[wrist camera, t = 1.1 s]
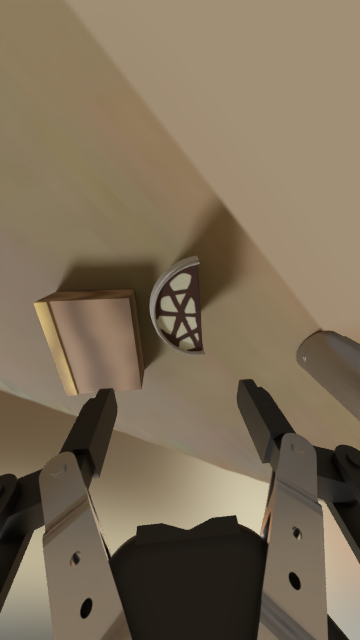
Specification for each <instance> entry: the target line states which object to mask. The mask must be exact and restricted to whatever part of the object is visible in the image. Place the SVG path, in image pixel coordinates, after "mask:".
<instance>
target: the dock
mask: <svg viewBox="0 0 360 640" xmlns="http://www.w3.org/2000/svg"><path fill="white" fill-rule="evenodd" d="M34 306H35V309H36V311H37V314H38V317H39V320H40V322H41V325H42V328H43V331H44V333H45V336H46V339H47V342H48V344H49V347H50V350H51V353H52V355H53V358H54V361H55V364H56V366H57V369H58V372H59V374H60V377H61V380H62V383H63V385H64V388H65V391H66V394H67V396H72V395H78V394H81V393H95V392H98V391H99V389H105V388H113V389H114V391H123V390H137V389H142V383H143V376H144V362H143V353H142V345H141V337H140V329H139V321H138V313H137V305H136V297H135V289H119V290H93V291H66V292H55V293H53V294H51V295H48V296H46V297H44V298H42V299H40V300H38V301H36V302H34Z"/></svg>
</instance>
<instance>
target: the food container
mask: <svg viewBox="0 0 360 640" xmlns="http://www.w3.org/2000/svg"><path fill="white" fill-rule="evenodd" d="M197 264H200V262H199V259H198V257H197V256H192V257H188V258H185V259H183V260H180V261H178V262H176V263H175V264H173V265H172V266H170V267H169V268H168V269H167V270H165V271H164V273H163V274H162V275H161V276H160V277H159V279H158V280H157V282H156V283H155V285H154V288H153V290H152V293H151V297H150V306H149V307H150V315H151V319H152V322H153V325H154V327H155V329H156V331H157V333H158V334H159V336H160V337H161V338H162V339H163V341H164V342H165V343H167V344H168V345H169V346H171V347H172V348H173V349H175V350H177V351H179V352H182V353H184V354H189V355H197V356H201V355H205V353H204V350H203V344H202V332H201V311H200V297H199V281H198V266H197Z"/></svg>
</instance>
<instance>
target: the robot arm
mask: <svg viewBox="0 0 360 640" xmlns="http://www.w3.org/2000/svg"><path fill="white" fill-rule="evenodd" d="M297 361H298V363H299V365H300V366H301V367H302V368H303V369H304V370H305V371H307V372H308V373H309V374H310V375H311V376H312V377H313V378H314V379H315V380H316V381H317V382H318V383H319V384H320V385H321V386H323V387H324V388H325V389H326V390H327V391H328V392H329V393H330V394H331V395H332V396H333V397H334V398H335V399H336V400H338V401H339V402H340V403H341V404H342V405H343V406H344V407H345V408H346V409H347V410H348V411H349V412H350V413H351V414H353V415H354V416H355V417H356V418H357V419H358V420H359V421H360V344H359V343H357V342H355V341H353V340H351V339H349V338H347V337H345V336H342V335H340V334H338V333H336V332H334V331H322V332H318V333H316V334H314V335H312V336H310V337H309V338H308V339H306V340H305V341H304V342H303V344H302V345H301V346H300V348H299V350H298V353H297ZM237 404H238V408H239V410H240V412H241V415H242V417H243V419H244V422H245V424H246V426H247V429H248V431H249V433H250V436H251V438H252V440H253V442H254V445H255V447H256V449H257V452H258V454H259V456H260V459H261V461H262V463H270V465H271V467H272V473H271V479H270V486H269V491H268V497H267V503H266V509H265V514H264V518H263V522H262V527H261V532H260V536H259V535H258V534H257V533H255V532H254V531H252V530H251V529H249V528H247V527H245V526H243V525H240V524H238V521H237V517H236V515H234V516H225V517H216V518H211V519H209V520H207V521H205V522H203V523H202V524H199V525H198V526H196V527H194V528H192V529H190V530H185V529H181V528H177V527H174V526H170V525H166V524H163V523H160V524H151V525H142V526H137V533H136V535H135V536H133V537H132V538H130V539H129V540H127V541H126V542H125V543H124V544H123V545H121V546H120V548H118V549H117V551H116V552H115V553H114V554H113V555H111V552H110V549H109V546H108V543H107V540H106V538H105V535H104V533H103V530H102V527H101V524H100V521H99V518H98V515H97V512H96V509H95V506H94V503H93V500H92V497H91V494H90V491H89V486H90V483H91V480H92V478H99V477H100V473H101V470H102V466H103V463H104V459H105V455H106V452H107V449H108V445H109V441H110V437H111V434H112V431H113V427H114V424H115V420H116V416H117V402H116V398H115V393H114V389H113V388H105V389H99V391H98V393H97V395H96V397H95V398H90V399H89V400H88V401H87V402H86V403H85V404H84V405H83V407H82V409H81V411H80V413H79V416H78V417H77V419H76V421H75V423H74V425H73V427H72V429H71V431H70V433H69V435H68V437H67V439H66V441H65V443H64V445H63V447H62V449H61V451H60V453H59V454H58V455H56V456H54V457H53V458H52V459H51V460H49V461H48V462H47V464H46V465H45V466H44V467H43V468H42V469H41V470H38V471H36V472H34V473H31V474H29V475H26V476H24V477H21V478H19V479H17V477H16V476H15V475H13V474H5V475H2V476H0V612H1V610H2V607H3V605H4V602H5V600H6V597H7V595H8V592H9V590H10V588H11V585H12V583H13V580H14V578H15V575H16V573H17V571H18V568H19V566H20V563H21V561H22V559H23V556H24V554H25V551H26V549H27V546H28V544H29V542H30V539H31V537H32V534H33V532H34V530H35V529H38V528H40V527H42V526H44V525H45V533H44V535H43V552H44V560H45V568H46V577H47V585H48V594H49V602H50V610H51V618H52V627H53V636H54V640H349V639H348V638H347V637H346V635H345V634H344V633H343V632H342V631H341V629H340V628H339V627H338V626H337V625H336V623H335V622H334V621H333V620H332V619H331V618H330V616H329V615H328V614H327V602H326V580H325V579H326V578H325V554H324V529H323V512H322V506H321V505H320V504H319V503H318V499H317V498H320V499H323V500H324V501H325V503H326V504H327V506H328V508H329V510H330V512H331V513H332V515H333V517H334V518H335V520H336V522H337V524H338V526H339V527H340V529H341V531H342V533H343V535H344V537H345V538H346V540H347V542H348V544H349V546H350V547H351V549H352V551H353V553H354V554H355V556H356V558H357V560H358V562H359V563H360V451H359V450H357V449H356V448H353V447H351V446H348V445H339V446H337V447H336V449H335V451H333V450H329V449H325V448H320V447H316V446H313V445H312V444H311V443H310V442H309V441H308V440H307V439H305V438H304V437H302V436H300V435H298V434H296V433H295V431H294V430H293V428H292V427H291V425H290V424H289V422H288V421H287V419H286V418H285V416H284V415H283V413H282V412H281V410H280V409H279V408H278V406H277V404H276V403H275V402H274V400H273V398H272V397H271V395H270V394H269V393H268V392H267V391H266V390H265V389H263V388H262V387H257V386H256V384H255V382H254V381H253V380H252V379H245V380H239V385H238V392H237Z"/></svg>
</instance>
